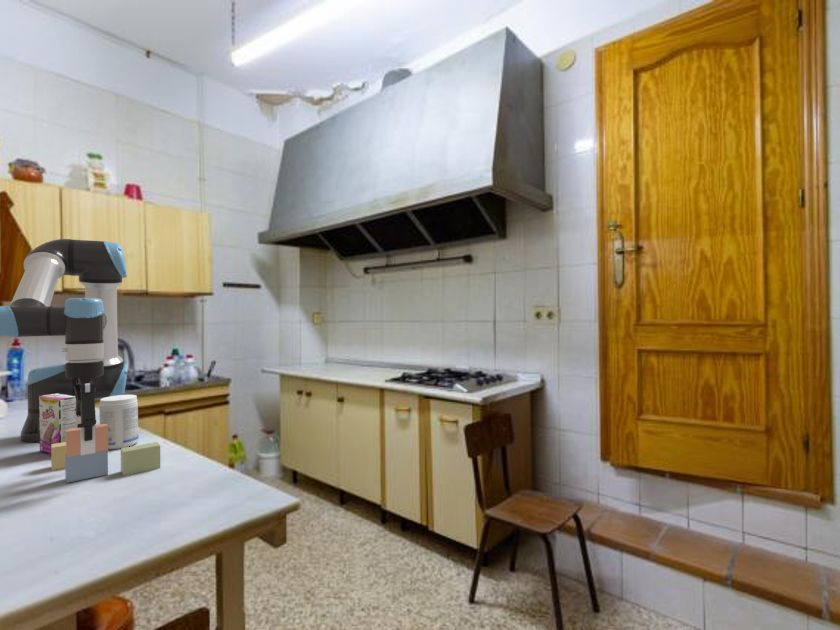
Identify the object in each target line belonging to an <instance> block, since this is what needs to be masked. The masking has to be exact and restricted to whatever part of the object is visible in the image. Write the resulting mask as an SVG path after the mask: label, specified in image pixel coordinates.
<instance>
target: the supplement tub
mask: <svg viewBox="0 0 840 630" xmlns="http://www.w3.org/2000/svg"><path fill="white" fill-rule="evenodd" d="M99 424H107V425H108V449H112V450H121V449H120V448H125V447H129V446H130V447H131V446H136V444H137V443H138V442H139V441H140V440H139V436H140V435H139V403H138V397H137V394H123V395H117V396H110V397H105V398H102V399H100V400H99Z"/></svg>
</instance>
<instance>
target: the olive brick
mask: <svg viewBox="0 0 840 630" xmlns="http://www.w3.org/2000/svg"><path fill="white" fill-rule="evenodd" d="M157 468H159V469H161V444H160V443H159V442H157V441H154V442H150V443H149V442H148V443H143V444H137V445H132V446H130V447H125V448H121V449H120V472H122V473H121V474H122V476H123V477H124V475H125V476H129V475H128V474H130V475H133V474H132V473H135V474H139V473H138V472H140V473H143V471H144V472H149V471H153V470H152V469H154V470H158V469H157ZM148 470H149V471H148Z"/></svg>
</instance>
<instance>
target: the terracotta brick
mask: <svg viewBox="0 0 840 630" xmlns="http://www.w3.org/2000/svg"><path fill="white" fill-rule="evenodd" d="M106 450H108V425H107V424H100V423H99V424H95V452H100V451H106ZM108 451H109V450H108ZM77 455H81V448H80V428H71V429H66V456H67V457H72V456H77Z"/></svg>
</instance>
